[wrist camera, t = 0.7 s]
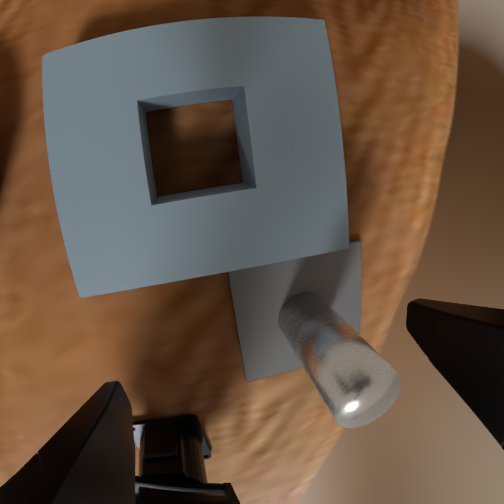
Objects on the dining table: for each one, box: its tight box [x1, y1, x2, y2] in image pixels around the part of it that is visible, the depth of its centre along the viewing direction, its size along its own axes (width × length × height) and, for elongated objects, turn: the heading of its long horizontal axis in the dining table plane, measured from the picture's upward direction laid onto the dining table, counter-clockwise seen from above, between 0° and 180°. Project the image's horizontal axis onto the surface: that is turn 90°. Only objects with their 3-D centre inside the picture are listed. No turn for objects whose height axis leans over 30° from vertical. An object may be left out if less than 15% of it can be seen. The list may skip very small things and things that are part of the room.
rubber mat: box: [228, 240, 361, 382], centre depth 24 cm, size 10×10×1 cm
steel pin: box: [278, 292, 402, 428], centre depth 19 cm, size 4×4×10 cm
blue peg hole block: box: [42, 17, 349, 298], centre depth 17 cm, size 14×16×4 cm
